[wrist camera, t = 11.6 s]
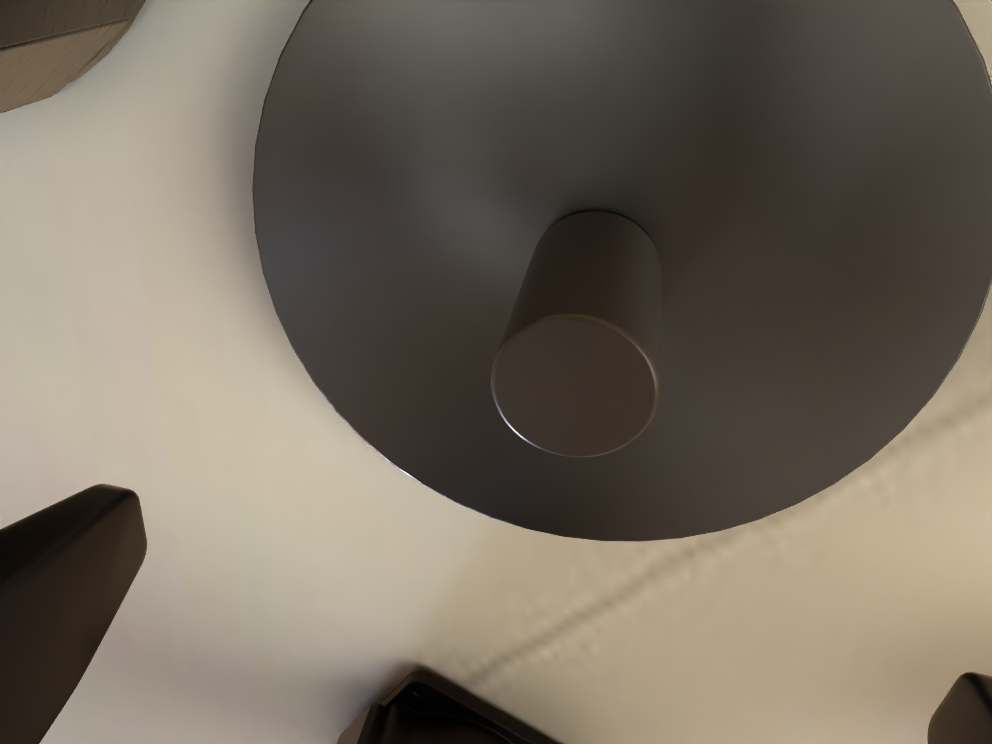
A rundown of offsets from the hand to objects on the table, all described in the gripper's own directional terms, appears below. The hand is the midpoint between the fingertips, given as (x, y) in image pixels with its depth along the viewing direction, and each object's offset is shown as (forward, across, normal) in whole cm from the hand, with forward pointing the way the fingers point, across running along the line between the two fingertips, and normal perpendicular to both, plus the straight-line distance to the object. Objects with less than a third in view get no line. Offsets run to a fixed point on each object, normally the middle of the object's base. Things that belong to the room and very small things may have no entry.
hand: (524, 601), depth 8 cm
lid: (+9, 0, 0) cm, 9 cm away
